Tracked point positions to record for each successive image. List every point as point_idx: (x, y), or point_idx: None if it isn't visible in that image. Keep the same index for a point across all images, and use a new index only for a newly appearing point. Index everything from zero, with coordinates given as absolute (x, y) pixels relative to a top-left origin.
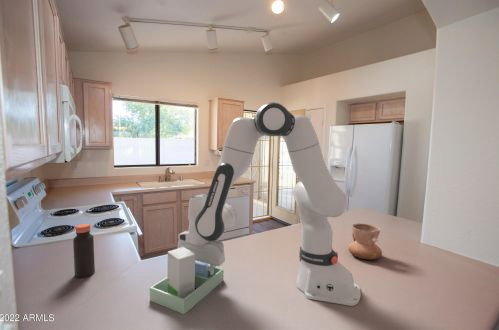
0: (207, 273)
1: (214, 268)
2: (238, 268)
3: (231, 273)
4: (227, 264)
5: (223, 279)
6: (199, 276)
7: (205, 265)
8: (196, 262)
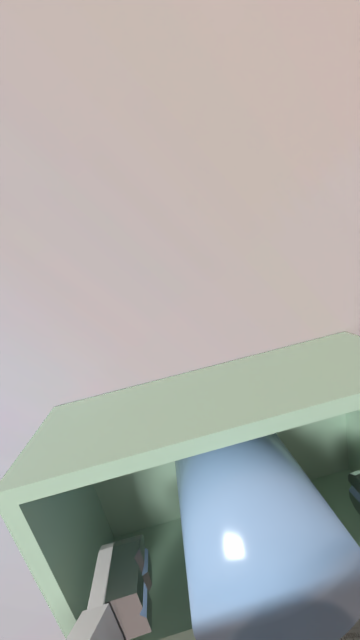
0: (296, 461)
1: (338, 406)
2: (339, 79)
3: (336, 209)
4: (191, 82)
5: (350, 333)
6: None
7: (348, 575)
8: (70, 486)
